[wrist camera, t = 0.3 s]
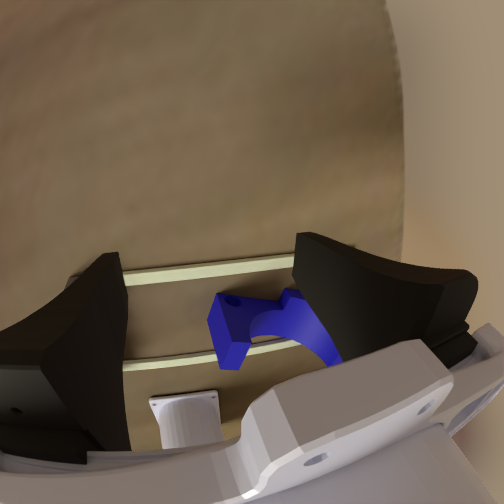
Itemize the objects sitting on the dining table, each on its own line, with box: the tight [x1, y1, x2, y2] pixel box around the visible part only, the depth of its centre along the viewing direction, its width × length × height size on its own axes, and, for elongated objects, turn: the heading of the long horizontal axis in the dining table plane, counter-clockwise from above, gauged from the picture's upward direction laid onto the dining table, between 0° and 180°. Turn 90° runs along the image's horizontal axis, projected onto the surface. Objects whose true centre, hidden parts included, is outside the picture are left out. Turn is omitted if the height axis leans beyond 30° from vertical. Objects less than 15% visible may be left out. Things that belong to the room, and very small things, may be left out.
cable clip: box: [207, 288, 343, 370], centre depth 25 cm, size 12×4×6 cm, turn 69°
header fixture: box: [64, 253, 301, 371], centre depth 23 cm, size 11×24×5 cm, turn 88°
